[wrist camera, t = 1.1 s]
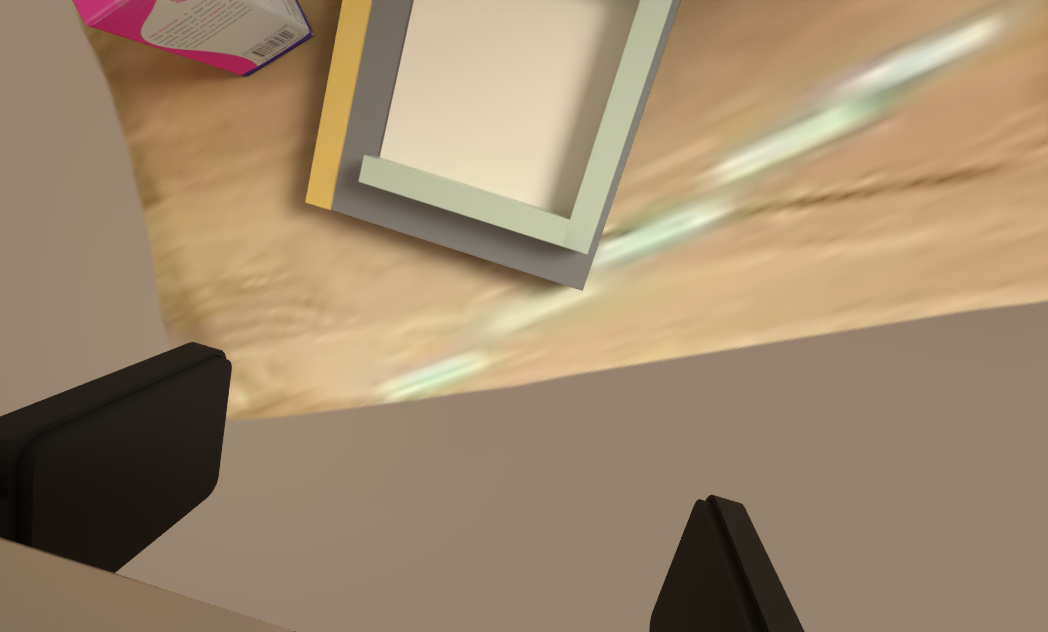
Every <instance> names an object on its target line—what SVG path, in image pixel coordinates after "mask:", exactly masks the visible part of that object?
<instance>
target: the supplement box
mask: <svg viewBox="0 0 1048 632" xmlns="http://www.w3.org/2000/svg"><path fill="white" fill-rule="evenodd" d="M73 2H74V4H75V6H76V8H77V10H78V12H79V13H80V15H81V17H82V19H83V21H84V23H85V24H86V25H87V26H90V27H93V28H96V29H99V30H102V31H105V32H108V33H112V34H115V35H118V36H121V37H124V38H128V39H131V40H134V41H137V42H140V43H143V44H146V45H149V46H153V47H156V48H159V49H162V50H165V51H168V52H171V53H174V54H177V55H181V56H183V57H186V58H190V59H193V60H196V61H199V62H202V63H205V64H209V65H212V66H215V67H218V68H221V69H224V70H227V71H230V72H233V73H236V74H239V75H242V76H245V77H246V76H249V75H251V74H252V73H254V72H256V71H257V70H259V69H261V68H262V67H264V66H266V65H267V64H269V63H271V62H272V61H274V60H275V59H277V58H279V57H280V56H282V55H284V54H285V53H287V52H288V51H290V50H292V49H293V48H295V47H296V46H298V45H300V44H301V43H303V42H304V41H306V40H308V39H309V38H311V37H313V36H314V33H313V31H312V29H311V26H310V25H309V22H308V21H307V19H306V16H305V15H304V13H303V11H302V9H301V7H300V5H299V3H298V1H297V0H73Z"/></svg>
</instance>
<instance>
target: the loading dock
mask: <svg viewBox="0 0 1048 632" xmlns="http://www.w3.org/2000/svg"><path fill="white" fill-rule="evenodd" d="M680 1H681V0H343V1H342V6H341V11H340V17H339V22H338V28H337V33H336V39H335V44H334V49H333V55H332V60H331V66H330V71H329V76H328V82H327V87H326V93H325V98H324V104H323V109H322V114H321V120H320V125H319V131H318V136H317V141H316V147H315V152H314V158H313V163H312V168H311V174H310V179H309V185H308V190H307V196H306V201H305V202H306V203H309V204H312V205H315V206H319V207H322V208H325V209H328V210H333V211H336V212H339V213H342V214H345V215H349V216H352V217H355V218H358V219H361V220H364V221H367V222H370V223H373V224H377V225H380V226H383V227H386V228H389V229H392V230H395V231H398V232H401V233H405V234H408V235H411V236H414V237H417V238H420V239H423V240H426V241H429V242H433V243H436V244H439V245H442V246H445V247H448V248H451V249H454V250H457V251H461V252H464V253H467V254H470V255H473V256H476V257H479V258H482V259H485V260H489V261H492V262H495V263H498V264H501V265H504V266H507V267H510V268H513V269H517V270H520V271H523V272H526V273H529V274H532V275H535V276H538V277H541V278H545V279H548V280H551V281H554V282H557V283H560V284H563V285H566V286H569V287H573V288H576V289H579V290H582V291H583V288H584V285H585V282H586V279H587V276H588V273H589V270H590V268H591V265H592V262H593V259H594V256H595V253H596V250H597V247H598V244H599V241H600V238H601V235H602V232H603V229H604V226H605V223H606V220H607V217H608V214H609V211H610V208H611V205H612V202H613V200H614V197H615V194H616V191H617V188H618V185H619V182H620V179H621V176H622V173H623V170H624V167H625V164H626V161H627V158H628V155H629V152H630V149H631V146H632V143H633V140H634V137H635V134H636V132H637V129H638V126H639V123H640V120H641V117H642V114H643V111H644V108H645V105H646V102H647V99H648V96H649V93H650V90H651V87H652V84H653V81H654V78H655V75H656V72H657V69H658V67H659V64H660V61H661V58H662V55H663V52H664V49H665V46H666V43H667V40H668V37H669V34H670V31H671V28H672V25H673V22H674V19H675V16H676V13H677V10H678V7H679V4H680Z"/></svg>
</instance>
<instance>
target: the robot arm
mask: <svg viewBox="0 0 1048 632" xmlns="http://www.w3.org/2000/svg"><path fill="white" fill-rule="evenodd" d="M231 371H232V365H231V362H230V361H229V360H227V359H226V356H225V353H224V352H223V351H222V350H219V349H215V348H212V347H208V346H205V345H202V344H198V343H195V342H191V343H187V344H185V345H182V346H180V347H177V348H175V349H172V350H169V351H167V352H164V353H162V354H159V355H157V356H154V357H152V358H149V359H146V360H144V361H141V362H139V363H136V364H134V365H131V366H128V367H126V368H124V369H121V370H118V371H116V372H114V373H111V374H108V375H105V376H103V377H100V378H98V379H95V380H93V381H90V382H88V383H85V384H83V385H80V386H77V387H75V388H72V389H70V390H67V391H65V392H62V393H60V394H57V395H54V396H52V397H49V398H47V399H44V400H41V401H39V402H36V403H34V404H32V405H29V406H26V407H24V408H21V409H18V410H16V411H13V412H11V413H8V414H6V415H3V416H1V417H0V632H296V631H293V630H290V629H287V628H283V627H280V626H277V625H274V624H271V623H268V622H265V621H262V620H259V619H256V618H253V617H249V616H246V615H243V614H240V613H237V612H234V611H231V610H228V609H225V608H221V607H218V606H215V605H212V604H209V603H206V602H203V601H200V600H197V599H193V598H190V597H187V596H184V595H181V594H178V593H175V592H172V591H168V590H166V589H162V588H159V587H156V586H153V585H150V584H147V583H143V582H140V581H137V580H134V579H131V578H128V577H125V576H121V575H118V574H115V572H117V571H118V570H119V569H120V568H121V567H123V566H124V565H125V564H126V563H127V562H129V561H130V560H131V559H133V558H134V557H135V556H136V555H137V554H138V553H140V552H141V551H142V550H143V549H145V548H146V547H147V546H148V545H150V544H151V543H152V542H153V541H155V540H156V539H157V538H158V537H160V536H161V535H162V534H163V533H164V532H166V531H167V530H168V529H169V528H171V527H172V526H173V525H174V524H176V523H177V522H178V521H179V520H180V519H182V518H183V517H184V516H185V515H187V514H188V513H189V512H190V511H191V510H193V509H194V508H195V507H196V506H198V504H200V503H201V502H202V501H204V500H205V499H206V498H207V497H208V496H209V495H210V494H211V493H212V491H213V490H214V488H215V486H216V484H217V481H218V477H219V468H220V460H221V452H222V444H223V436H224V428H225V420H226V412H227V403H228V395H229V387H230V379H231ZM650 632H804V630H803V628H802V625H801V623H800V621H799V619H798V617H797V615H796V613H795V611H794V609H793V607H792V605H791V603H790V601H789V598H788V597H787V595H786V592H785V590H784V588H783V586H782V584H781V582H780V580H779V578H778V576H777V573H776V572H775V569H774V567H773V565H772V563H771V561H770V559H769V557H768V555H767V553H766V551H765V549H764V546H763V544H762V542H761V540H760V538H759V536H758V534H757V532H756V530H755V528H754V526H753V524H752V522H751V519H750V517H749V516H748V513H747V511H746V509H745V507H744V506H743V504H741V503H738V502H735V501H731V500H728V499H725V498H721V497H718V496H714V495H710V496H708V498H707V499H706V501H704V500H700V499H699V500H697V501H696V503H695V505H694V507H693V509H692V512H691V514H690V517H689V520H688V522H687V525H686V527H685V530H684V532H683V535H682V537H681V540H680V543H679V545H678V548H677V551H676V553H675V555H674V558H673V561H672V563H671V566H670V568H669V571H668V573H667V576H666V579H665V581H664V584H663V586H662V589H661V591H660V594H659V596H658V599H657V602H656V604H655V607H654V609H653V612H652V615H651V620H650Z"/></svg>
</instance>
